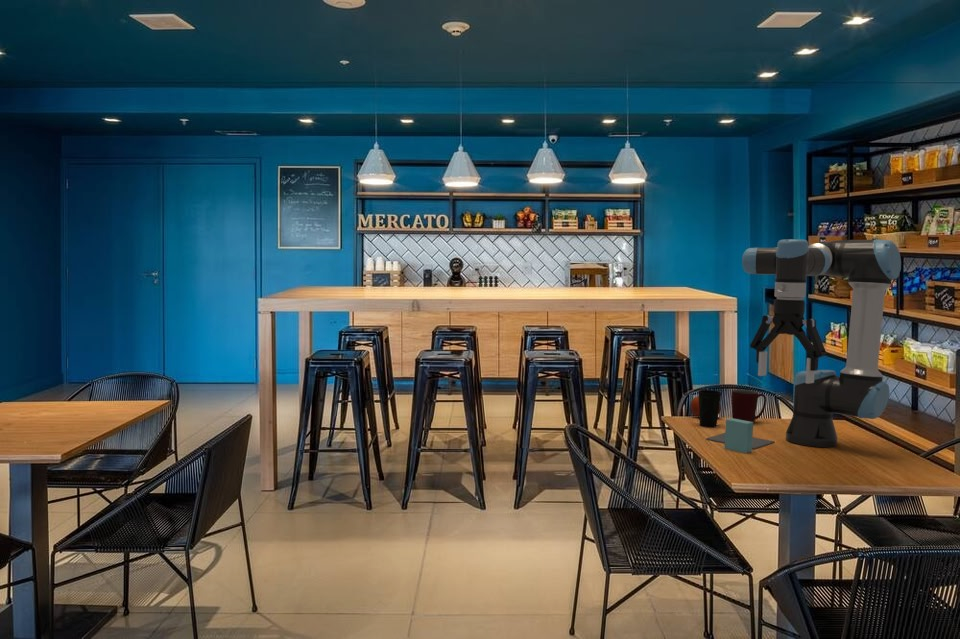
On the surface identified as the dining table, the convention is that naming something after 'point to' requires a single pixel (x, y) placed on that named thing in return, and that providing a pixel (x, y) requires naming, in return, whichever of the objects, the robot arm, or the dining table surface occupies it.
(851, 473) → the dining table surface
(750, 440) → the card box
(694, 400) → the fruit
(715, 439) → the mat
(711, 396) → the cup
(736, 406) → the mug
